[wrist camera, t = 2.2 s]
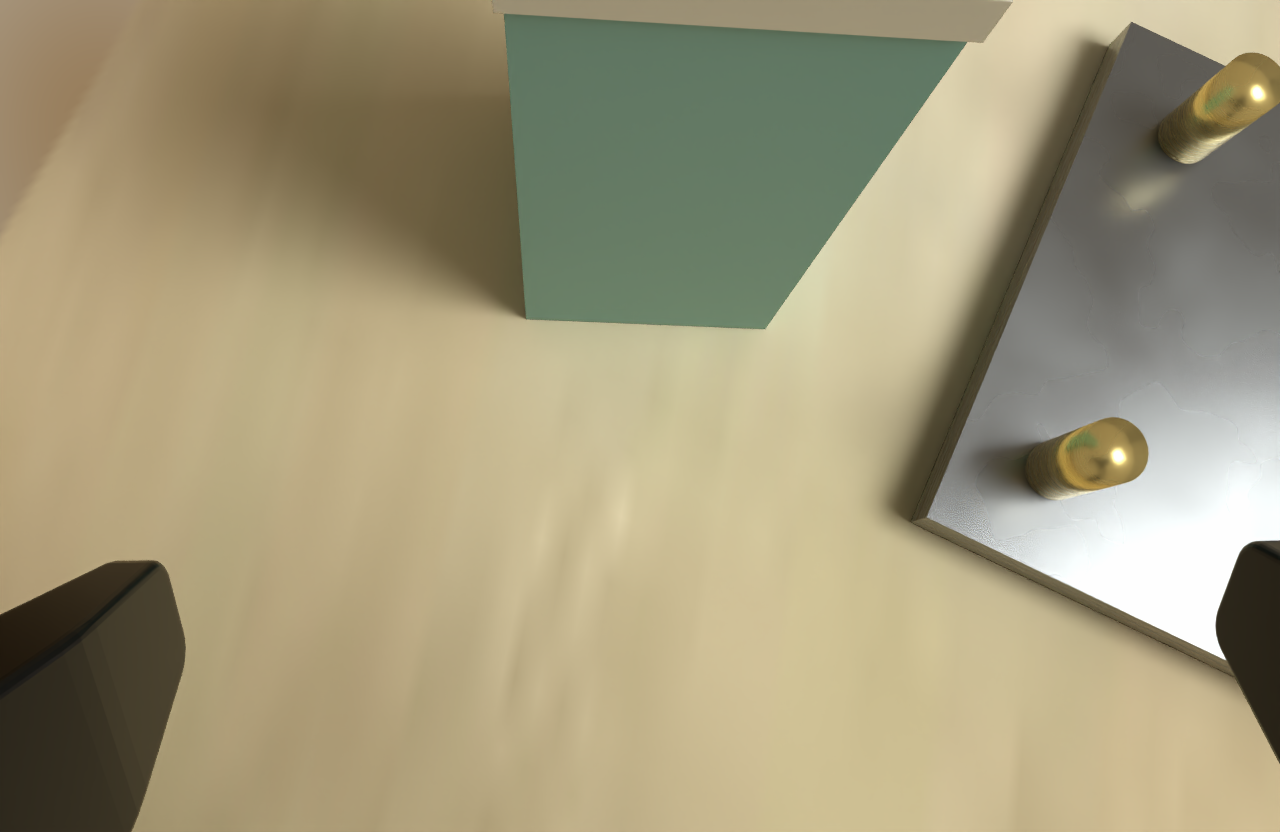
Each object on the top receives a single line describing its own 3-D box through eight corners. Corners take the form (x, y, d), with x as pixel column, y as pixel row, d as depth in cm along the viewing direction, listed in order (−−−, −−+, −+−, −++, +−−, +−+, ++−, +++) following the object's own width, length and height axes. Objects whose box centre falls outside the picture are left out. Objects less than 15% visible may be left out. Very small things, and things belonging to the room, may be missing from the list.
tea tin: (769, 334, 24) (1013, 1, 11) (520, 323, 23) (488, -32, 11) (769, 103, 25) (992, -435, 12) (530, 90, 24) (511, -478, 12)
